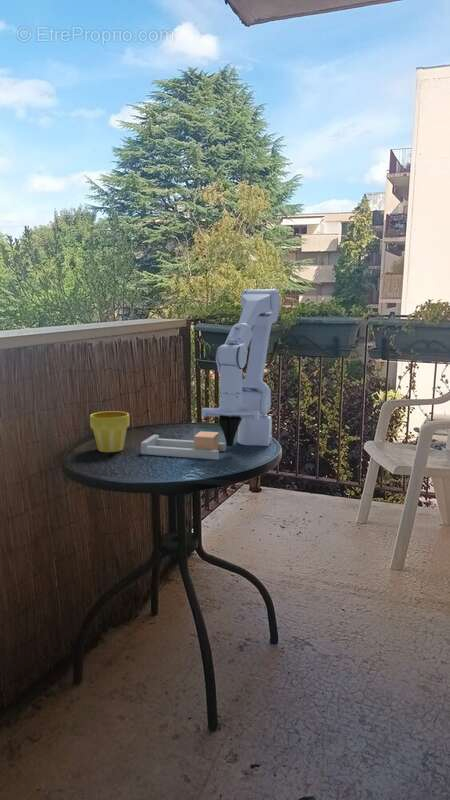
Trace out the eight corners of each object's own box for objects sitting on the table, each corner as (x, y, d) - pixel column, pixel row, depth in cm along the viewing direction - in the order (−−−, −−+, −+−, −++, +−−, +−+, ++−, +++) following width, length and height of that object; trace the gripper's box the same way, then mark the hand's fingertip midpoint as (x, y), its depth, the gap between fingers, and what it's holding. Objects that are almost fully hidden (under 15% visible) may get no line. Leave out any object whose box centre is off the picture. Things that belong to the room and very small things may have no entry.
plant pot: (88, 446, 147) (87, 411, 145) (125, 443, 151) (125, 409, 149) (93, 456, 137) (92, 418, 136) (133, 452, 141) (132, 416, 139)
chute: (227, 451, 143) (227, 437, 143) (215, 466, 130) (215, 450, 129) (156, 446, 147) (156, 432, 147) (137, 460, 134) (137, 444, 133)
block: (218, 451, 140) (218, 432, 139) (213, 457, 134) (213, 437, 133) (200, 449, 141) (200, 431, 140) (194, 455, 135) (194, 436, 134)
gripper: (198, 393, 131) (198, 447, 133) (257, 396, 128) (255, 451, 130) (205, 389, 138) (205, 440, 140) (261, 392, 135) (259, 444, 137)
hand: (229, 445), depth 136 cm, fingers closed
